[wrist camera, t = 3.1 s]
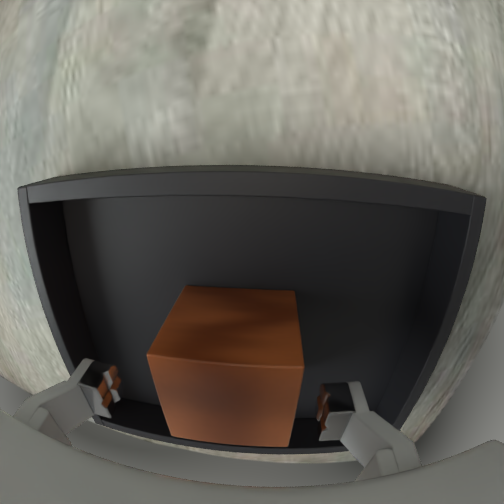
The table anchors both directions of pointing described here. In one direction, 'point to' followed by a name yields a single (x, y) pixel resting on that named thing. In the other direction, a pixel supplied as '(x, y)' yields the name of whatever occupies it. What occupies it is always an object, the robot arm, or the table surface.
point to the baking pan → (255, 274)
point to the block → (230, 365)
